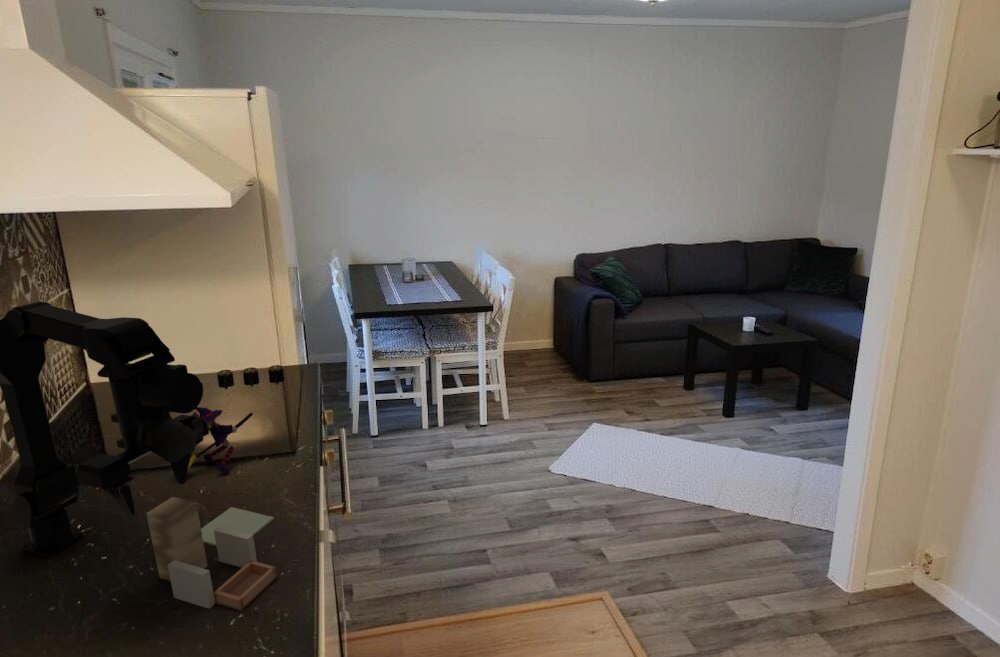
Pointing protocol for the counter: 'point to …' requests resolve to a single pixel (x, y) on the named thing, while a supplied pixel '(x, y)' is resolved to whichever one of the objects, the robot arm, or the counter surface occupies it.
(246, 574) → the tray
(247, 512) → the green mat
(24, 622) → the counter surface
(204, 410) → the toy
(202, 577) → the channel
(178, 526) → the beech post
